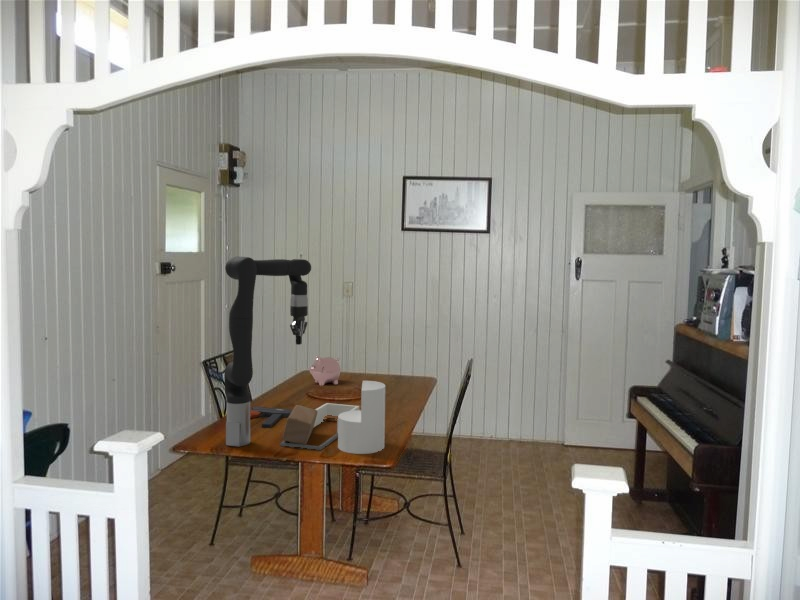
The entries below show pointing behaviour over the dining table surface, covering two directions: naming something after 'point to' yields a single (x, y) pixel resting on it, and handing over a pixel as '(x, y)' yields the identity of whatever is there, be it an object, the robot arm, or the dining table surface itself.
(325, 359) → the piggy bank
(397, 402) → the dining table surface
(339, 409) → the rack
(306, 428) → the wooden block
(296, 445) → the frame
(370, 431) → the cylinder
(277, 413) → the submachine gun
